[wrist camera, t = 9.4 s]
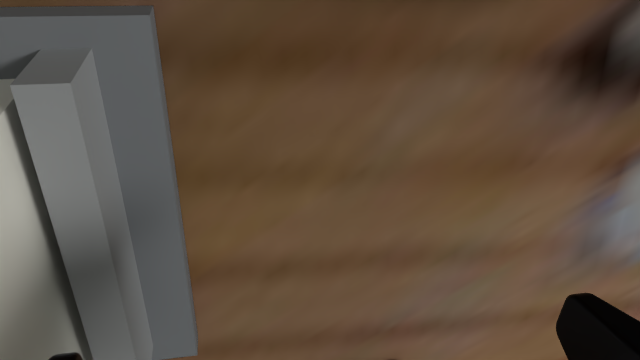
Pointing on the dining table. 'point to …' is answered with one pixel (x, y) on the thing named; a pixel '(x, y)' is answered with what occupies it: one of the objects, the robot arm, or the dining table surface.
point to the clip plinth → (105, 170)
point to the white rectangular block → (30, 257)
